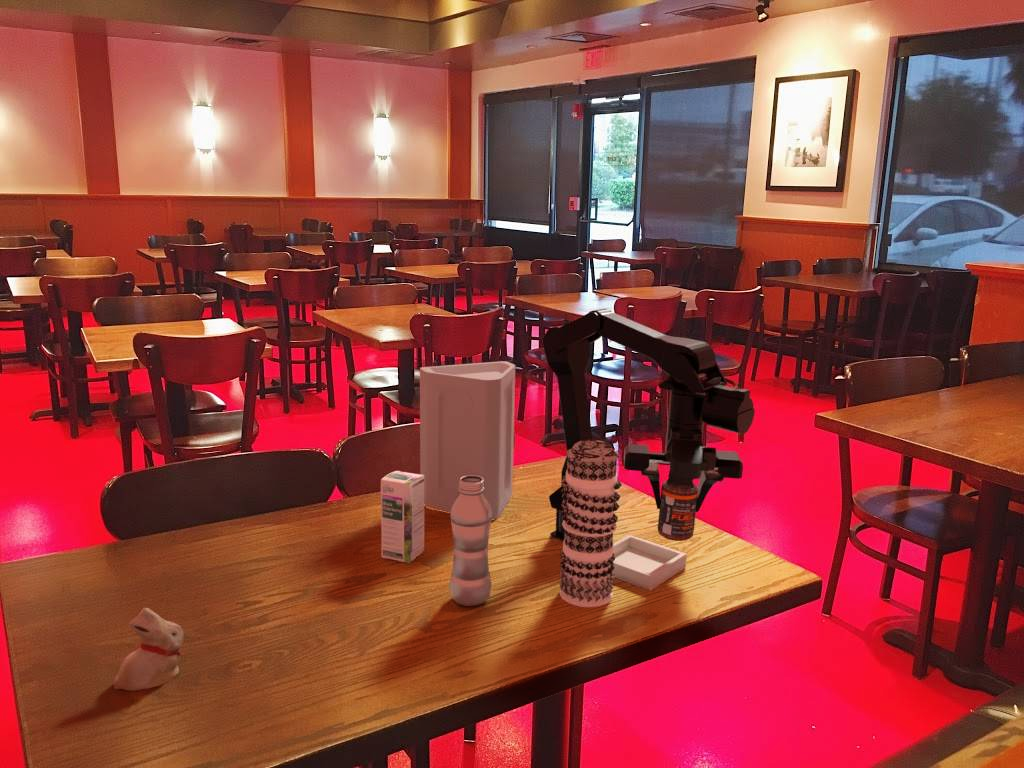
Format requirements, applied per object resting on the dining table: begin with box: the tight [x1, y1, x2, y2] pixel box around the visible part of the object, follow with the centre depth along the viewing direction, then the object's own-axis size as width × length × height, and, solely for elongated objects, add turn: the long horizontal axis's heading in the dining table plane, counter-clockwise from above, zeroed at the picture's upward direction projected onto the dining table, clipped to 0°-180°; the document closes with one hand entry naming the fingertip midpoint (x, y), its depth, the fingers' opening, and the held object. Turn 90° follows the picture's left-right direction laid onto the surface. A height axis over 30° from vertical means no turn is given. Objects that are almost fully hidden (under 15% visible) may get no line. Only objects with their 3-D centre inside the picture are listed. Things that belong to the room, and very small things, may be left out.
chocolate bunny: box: [113, 607, 185, 692], centre depth 105 cm, size 6×8×10 cm
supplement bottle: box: [657, 469, 698, 542], centre depth 136 cm, size 6×6×11 cm
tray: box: [612, 534, 687, 591], centre depth 140 cm, size 12×12×2 cm
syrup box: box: [380, 470, 425, 564], centre depth 141 cm, size 6×6×14 cm
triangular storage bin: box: [419, 360, 516, 521], centre depth 162 cm, size 19×15×28 cm
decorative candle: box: [559, 439, 623, 608], centre depth 128 cm, size 9×9×25 cm
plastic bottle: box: [449, 475, 492, 607], centre depth 125 cm, size 6×7×20 cm
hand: (677, 509), depth 136 cm, fingers closed on supplement bottle, 6 cm apart
